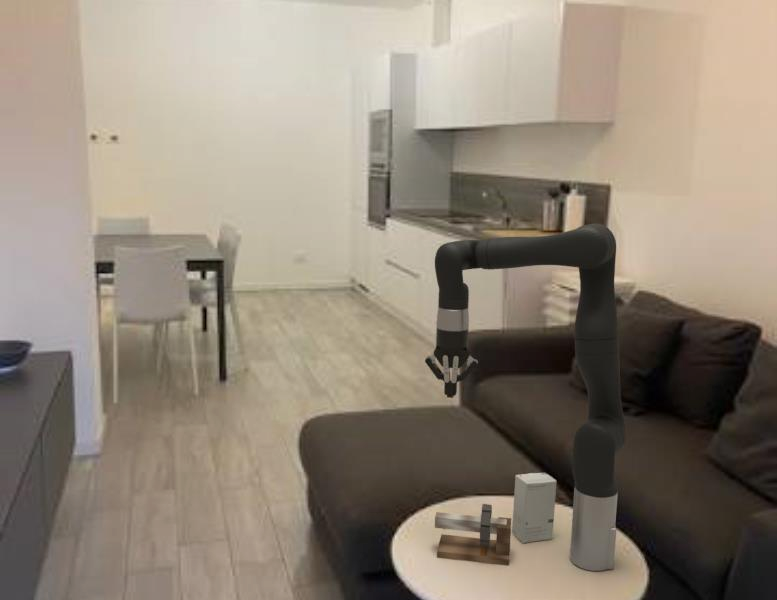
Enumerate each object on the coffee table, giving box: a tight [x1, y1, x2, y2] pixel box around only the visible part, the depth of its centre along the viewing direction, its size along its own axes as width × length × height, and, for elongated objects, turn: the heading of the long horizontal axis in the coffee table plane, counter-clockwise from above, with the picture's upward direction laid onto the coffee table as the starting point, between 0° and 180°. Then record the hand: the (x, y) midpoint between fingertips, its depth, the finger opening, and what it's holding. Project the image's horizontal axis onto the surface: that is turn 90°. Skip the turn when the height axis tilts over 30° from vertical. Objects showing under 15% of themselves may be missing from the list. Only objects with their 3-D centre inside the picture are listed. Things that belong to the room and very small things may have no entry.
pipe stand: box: [434, 511, 512, 566], centre depth 175 cm, size 17×8×8 cm, turn 79°
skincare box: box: [511, 472, 557, 544], centre depth 183 cm, size 8×6×15 cm
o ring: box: [479, 503, 493, 546], centre depth 174 cm, size 2×9×9 cm, turn 169°
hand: (450, 396), depth 185 cm, fingers closed
